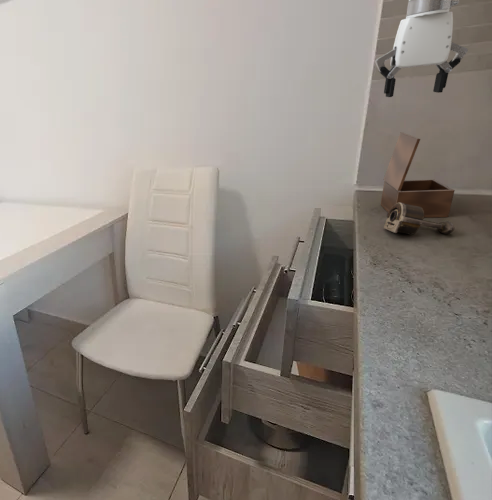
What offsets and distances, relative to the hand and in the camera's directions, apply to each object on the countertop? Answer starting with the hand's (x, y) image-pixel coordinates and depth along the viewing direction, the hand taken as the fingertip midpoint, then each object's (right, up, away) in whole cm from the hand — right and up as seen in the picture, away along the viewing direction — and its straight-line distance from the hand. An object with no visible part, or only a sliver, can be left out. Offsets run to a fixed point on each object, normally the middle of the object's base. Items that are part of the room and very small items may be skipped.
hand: (412, 94), depth 85 cm
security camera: (-2, -33, -3) cm, 33 cm away
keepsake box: (+6, -26, +9) cm, 28 cm away
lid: (+1, -14, +5) cm, 15 cm away
